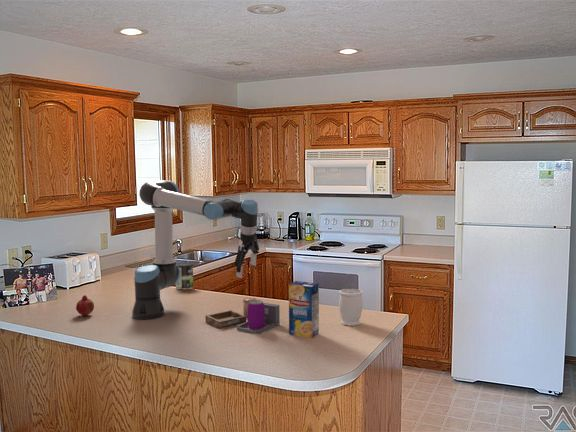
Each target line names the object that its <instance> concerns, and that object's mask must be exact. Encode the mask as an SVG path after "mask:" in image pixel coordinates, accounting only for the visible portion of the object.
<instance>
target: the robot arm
mask: <svg viewBox="0 0 576 432" xmlns="http://www.w3.org/2000/svg"><path fill="white" fill-rule="evenodd" d="M139 198H140V201H142V202H143V204H145V205H146V206H147V205H148V206H151V209H152V210H153V211H154V246H155V247H154V249H155V255H154V256H155V258H154V260H152V264H151V265H150V264H148V265H143V266H140V267H138V268H136V269H135V271H134V277H133V279H134V296H135V300H134V304H133V307H132V310H131V312H132V314H131V315H132V318H133V319H137V320H152V319H153V320H154V319H156V318H157V319H158V318H161V317H163V316H164V315H165V307H164V305H163V302H162V300H161V291H162V290H163V289H166V288H167V289H168V288H171V287H173V286H174V285H176V283H177V282H178V281H179V279H180V275H181V271H180V268H179V267H178V265H177V260H176V259H175V258H174V246H173V244H174V242H173V241H174V239H173V236H174V235H173V210H174V209H175V210H179V211H182V212H187V213H190V214H194V215H199V216H202V217H205V218H206V219H208V220H209V221H211V220H215V221H217V220H219V219H224V218H230V217H231V218H235V219H239V220H240V232H239V233H240V235H239V240H240V241H241V242H242V243H241V245H238V248H237V252H236V257H235V261H234V263H233V266H234V267H236V272H235V273H236V274H235V275H236V278H240V279H242V278H243V262H244V260H245V258H246V255H247V254H248V253H249V251H251V253H250V265H251V266H254V267H256V266H257V254H259V253H260V252H259V251H260V246H259V244H258V243H259V242H258V236H257V230H258V228H257V224H258V222H257V221H258V213H259V209H258V208H259V207H258V206H259V204H258V202H257V201H255V200H253V199H244V200H242V201H241V202H240V201H236V200H233V199H230V198H225V197H224V198H220V200H219V201H214V200H210V199H206V198H201V197H198V196H193V195H190V194H189V195H188V194H184V193H180V190H179V186H178V185H177V184H176V183H175V182H174V181H172V180H169V179H168V180H166V179H165V180H163V179H161V180H151V181H150V180H149V181H147V182H145V183H143V184H142V185H141V186H140V189H139Z"/></svg>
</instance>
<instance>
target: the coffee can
mask: <svg viewBox="0 0 576 432" xmlns="http://www.w3.org/2000/svg"><path fill="white" fill-rule="evenodd" d="M176 264H177V265H178V267H179V268H180V271H181V275H180V279H179V281H178V282H177V283H176V284H175V289H177V290H190V289H193V288H194V268H193V267H194V264H193V262H176Z"/></svg>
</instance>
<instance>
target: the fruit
mask: <svg viewBox="0 0 576 432" xmlns="http://www.w3.org/2000/svg"><path fill="white" fill-rule="evenodd" d="M75 309H76V311H77V313H78V314H80V315H81V316H83V317H84V316H88V315H90V314H91V313H93V311H94V309H95V303H94V302H93V300H91V299H90V298H88V296H87V295H85V294H84V295H83V296H82V297H81V299H79V300H78V301H77V303H76V305H75Z"/></svg>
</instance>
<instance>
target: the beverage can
mask: <svg viewBox="0 0 576 432" xmlns="http://www.w3.org/2000/svg"><path fill="white" fill-rule="evenodd" d="M263 303H264V301H263V300H262V299H256V300H251V301H249V304H248V306H247V314H248V318H247V321H248V326H247V329H251V330H256V331H258V330H259V329H261V328H263V327H266V324H265V306H264V304H263Z"/></svg>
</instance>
